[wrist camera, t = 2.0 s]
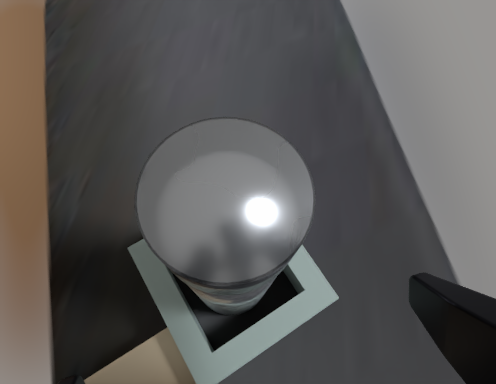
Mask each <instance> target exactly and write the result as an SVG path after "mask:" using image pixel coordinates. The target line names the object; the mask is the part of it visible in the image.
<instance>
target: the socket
mask: <svg viewBox="0 0 496 384" xmlns="http://www.w3.org/2000/svg"><path fill="white" fill-rule="evenodd" d="M128 250H129V252H130V254H131V256H132V258H133V260H134V262H135V264H136V266H137V268H138V270H139V272H140V274H141V276H142V278H143V280H144V282H145V284H146V286H147V288H148V290H149V292H150V294H151V296H152V298H153V300H154V302H155V303H156V305H157V307H158V309H159V311H160V313H161V315H162V317H163V319H164V321H165V323H166V325H167V327H168V329H169V331H170V333H171V335H172V337H173V339H174V341H175V343H176V345H177V347H178V349H179V351H180V353H181V355H182V357H183V359H184V361H185V362H186V364H187V366H188V368H189V370H190V372H191V374H192V376H193V378H194V380H195V382H196V384H217V383H219V382H220V381H222V380H223V379H224V378H226V377H227V376H229V375H230V374H232V373H233V372H234V371H236V370H237V369H239V368H240V367H242V366H243V365H244V364H246V363H247V362H249V361H250V360H252V359H253V358H254V357H256V356H257V355H259V354H260V353H262V352H263V351H264V350H266V349H267V348H269V347H270V346H272V345H273V344H274V343H276V342H277V341H279V340H280V339H282V338H283V337H284V336H286V335H287V334H289V333H290V332H292V331H293V330H294V329H296V328H297V327H299V326H300V325H302V324H303V323H304V322H306V321H307V320H309V319H310V318H311V317H313V316H314V315H316V314H317V313H319V312H320V311H321V310H323V309H324V308H326V307H327V306H329V305H330V304H331V303H333V302H334V301H336V300H337V299H339V297H338V296H337V294H336V293H335V291H334V290H333V289H332V287H331V286H330V284H329V283H328V281H327V280H326V278H325V277H324V276H323V274H322V273H321V271H320V270H319V268H318V267H317V265H316V264H315V263H314V261H313V260H312V258H311V257H310V255H309V254H308V252H307V251H306V250H305V248H304V247H303V245H301V247H300V248H299V249H298V251H297V252H296V253H295V255H294V256H293V257H292V259H291V260H290V262H289V263H288V264H287V266H286V267H285V268H284V269H283V271H284V273H285V274H286V276H287V277H288V279H289V280H290V282H291V284H292V285H293V287H294V288H295V290H296V291H297V293H298V295H297V296H295V297H294V298H292V299H291V300H289V301H288V302H286V303H285V304H283V305H282V306H280V307H279V308H277V309H276V310H275V311H273V312H272V313H270V314H269V315H267V316H266V317H264V318H263V319H261V320H260V321H258V322H257V323H255V324H254V325H252V326H251V327H249V328H248V329H246V330H245V331H243V332H242V333H240V334H239V335H237V336H236V337H235V338H233V339H232V340H230V341H229V342H227V343H226V344H224V345H223V346H221V347H220V348H218V349H217V350H215V351H214V350H213V348H212V346H211V344H210V343H209V341H208V339H207V337H206V335H205V333H204V331H203V330H202V328H201V326H200V324H199V322H198V320H197V318H196V317H195V315H194V313H193V311H192V309H191V307H190V306H189V304H188V302H187V300H186V298H185V296H184V294H183V293H182V291H181V289H180V287H179V285H178V283H177V282H176V280H175V278H174V276H173V274H172V272H171V271H170V270H169V269H168V268H167V267H166V266H165V265H164V264H163V263H162V262H161V261H160V260H159V259H158V258H157V257H156V255H155V254H154V253H153V252H152V251H151V249H150V248H149V246H148V245H147V243H146V242H145V240H144V239H142V240H140V241H139V242H137V243H135V244H133V245H132V246H130V247H128Z"/></svg>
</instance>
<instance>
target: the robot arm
mask: <svg viewBox="0 0 496 384" xmlns="http://www.w3.org/2000/svg"><path fill="white" fill-rule="evenodd" d="M409 302H410V305H411V307H412V309H413V310H414V312H415V313H416V315H417V316H418V318H419V319H420V321H421V322H422V324H423V325H424V327H425V328H426V330H427V331H428V333H429V334H430V336H431V337H432V339H433V340H434V342H435V343H436V345H437V347H438V348H439V349H440V351H441V352H442V354H443V355H444V356H445V358H446V359H447V360H448V362H449V363H450V364H451V365H452V367H453V368H454V369H455V370H456V372H457V373H458V374H459V375H460V377H461V378H462V379H463V380H464V382H465V383H466V384H496V299H495V298H492V297H489V296H487V295H484V294H481V293H479V292H476V291H473V290H471V289H468V288H465V287H463V286H460V285H457V284H455V283H452V282H449V281H447V280H444V279H441V278H439V277H436V276H433V275H431V274H428V273H419V274H416V275H413V276H411V277H410V279H409ZM58 384H85V382H84V380H83V378H82V377H81V376H80V375H73V376H70V377H67V378H64V379H62V380H61V381H60V382H59V383H58Z"/></svg>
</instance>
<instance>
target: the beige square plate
mask: <svg viewBox="0 0 496 384" xmlns="http://www.w3.org/2000/svg"><path fill="white" fill-rule="evenodd" d="M84 382H85V384H196V382H195V380H194V378H193V376H192V374H191V372H190V370H189V368H188V366H187V364H186V362H185V361H184V359H183V357H182V355H181V353H180V351H179V349H178V347H177V345H176V343H175V341H174V339H173V337H172V335H171V333H170V331H169V329H168V327H167V328H166V329H164V330H162V331H161V332H159V333H158V334H156V335H155V336H153V337H151V338H150V339H148V340H147V341H145V342H144V343H142V344H140V345H139V346H137V347H136V348H134V349H133V350H131V351H129V352H128V353H126V354H125V355H123V356H122V357H120V358H118V359H117V360H115V361H114V362H112V363H110V364H109V365H107V366H106V367H104V368H103V369H101V370H99V371H98V372H96V373H95V374H93V375H92V376H90V377H88V378H87V379H85V380H84Z"/></svg>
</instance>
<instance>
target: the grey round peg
mask: <svg viewBox="0 0 496 384" xmlns="http://www.w3.org/2000/svg"><path fill="white" fill-rule="evenodd" d="M315 202H316V200H315V188H314V183H313V179H312V176H311V173H310V170H309V168H308V166H307V164H306V162H305V160H304V158H303V157H302V155H301V154H300V152H299V151H298V150H297V149H296V148H295V147H294V145H293V144H292V143H291V142H289V141H288V140H287V139H286V138H285V137H284V136H282V135H281V134H280V133H278V132H277V131H275V130H273V129H271V128H270V127H268V126H266V125H263V124H261V123H258V122H255V121H251V120H248V119H243V118H236V117H217V118H210V119H204V120H201V121H197V122H194V123H191V124H189V125H187V126H184V127H182V128H180V129H179V130H177V131H175V132H174V133H172V134H171V135H169V136H168V137H167V138H165V139H164V140H163V141H162V142H161V143H160V144H159V145H158V146H157V147H156V148H155V149H154V151H153V152H152V153H151V154H150V156H149V157H148V159H147V160H146V162H145V164H144V166H143V168H142V170H141V172H140V175H139V178H138V181H137V185H136V191H135V213H136V219H137V223H138V226H139V229H140V232H141V234H142V236H143V238H144V240H145V242H146V243H147V245H148V246H149V248H150V249H151V251H152V252H153V253H154V254H155V255H156V257H157V258H158V259H159V260H160V261H161V262H162V263H163V264H164V265H165V266H166V267H167V268H168V269H169V270H170V271H171V272H172V273H173V274H175V275H176V276H177V277H178V278H179V279H180V280H181V281H183V282H184V283H186V284H187V285H188V286H189V287H190V288H191V289H192V290H193V291H194V292H195V294H196V295H197V296H198V297H199V298H200V299H201V300H202V301H203V302H204V303H205V304H206V305H207V306H208V307H209V308H211V309H212V310H214V311H215V312H217V313H220V314H223V315H239V314H242V313H245V312H247V311H249V310H251V309H252V308H253V307H254V306H255V305H256V304H257V303H258V302H259V301H260V300H261V298H262V297H263V295H264V294H265V292H266V291H267V290H268V288H269V287H270V285H271V284H272V282H273V281H274V280H275V278H276V277H277V276H278V275H279V274H280V273H281V272H282V271H283V269H284V268H285V267H286V266H287V264H288V263H289V262H290V260H291V259H292V257H293V256H294V255H295V253H296V252H297V251H298V249H299V248H300V247H301V245H302V244H303V242H304V240H305V238H306V237H307V235H308V232H309V230H310V227H311V225H312V221H313V217H314V213H315Z"/></svg>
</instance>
